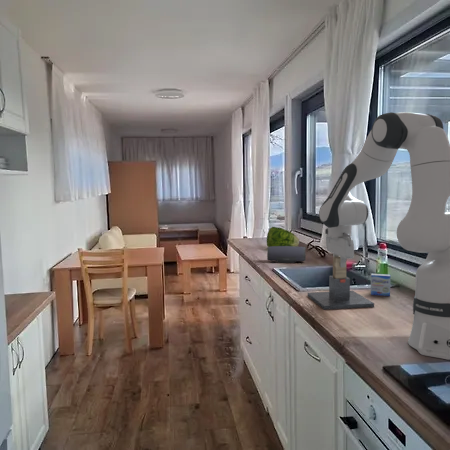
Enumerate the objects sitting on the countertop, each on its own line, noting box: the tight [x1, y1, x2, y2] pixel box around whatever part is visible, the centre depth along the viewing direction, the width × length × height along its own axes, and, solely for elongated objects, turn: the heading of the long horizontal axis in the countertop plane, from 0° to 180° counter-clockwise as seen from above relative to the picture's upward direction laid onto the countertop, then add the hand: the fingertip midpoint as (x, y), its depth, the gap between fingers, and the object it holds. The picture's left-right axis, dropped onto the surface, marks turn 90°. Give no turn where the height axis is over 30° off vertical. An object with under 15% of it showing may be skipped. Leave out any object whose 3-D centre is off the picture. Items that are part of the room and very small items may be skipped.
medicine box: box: [370, 273, 392, 297], centre depth 183 cm, size 8×4×9 cm, turn 70°
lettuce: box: [266, 226, 300, 248], centre depth 308 cm, size 17×23×16 cm
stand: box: [307, 275, 375, 311], centre depth 173 cm, size 20×20×10 cm
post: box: [332, 256, 347, 279], centre depth 172 cm, size 4×4×16 cm
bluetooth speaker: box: [266, 246, 307, 264], centre depth 260 cm, size 23×9×10 cm, turn 80°
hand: (339, 265), depth 172 cm, fingers closed on post, 4 cm apart
